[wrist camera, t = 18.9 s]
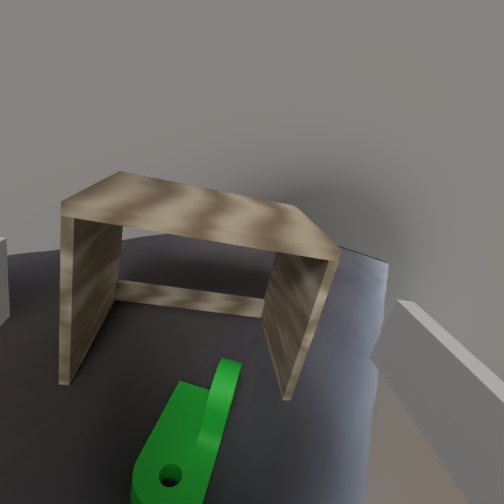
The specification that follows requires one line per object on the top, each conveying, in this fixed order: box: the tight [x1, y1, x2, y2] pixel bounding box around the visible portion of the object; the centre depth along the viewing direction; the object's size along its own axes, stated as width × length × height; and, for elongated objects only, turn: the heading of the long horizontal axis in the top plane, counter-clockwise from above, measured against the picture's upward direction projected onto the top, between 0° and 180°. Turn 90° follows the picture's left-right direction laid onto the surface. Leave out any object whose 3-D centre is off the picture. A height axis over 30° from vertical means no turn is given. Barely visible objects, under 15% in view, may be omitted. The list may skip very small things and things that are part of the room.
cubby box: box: [59, 171, 342, 401], centre depth 39 cm, size 25×18×19 cm
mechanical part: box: [130, 357, 242, 504], centre depth 27 cm, size 12×6×8 cm, turn 170°
